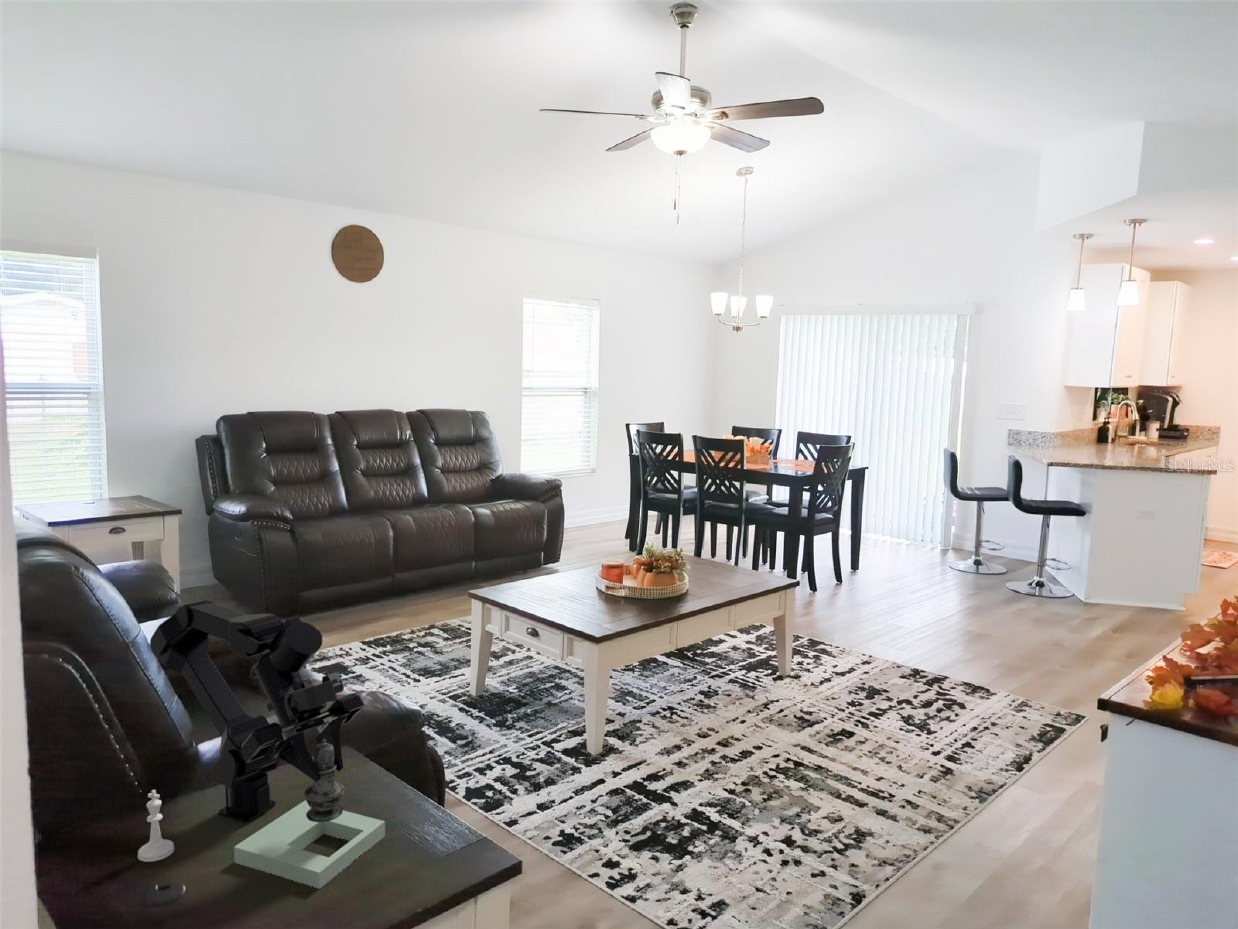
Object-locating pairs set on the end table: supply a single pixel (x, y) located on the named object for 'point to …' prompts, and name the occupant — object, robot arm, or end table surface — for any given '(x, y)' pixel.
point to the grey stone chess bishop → (324, 787)
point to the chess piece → (155, 834)
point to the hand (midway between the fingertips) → (329, 775)
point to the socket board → (293, 832)
